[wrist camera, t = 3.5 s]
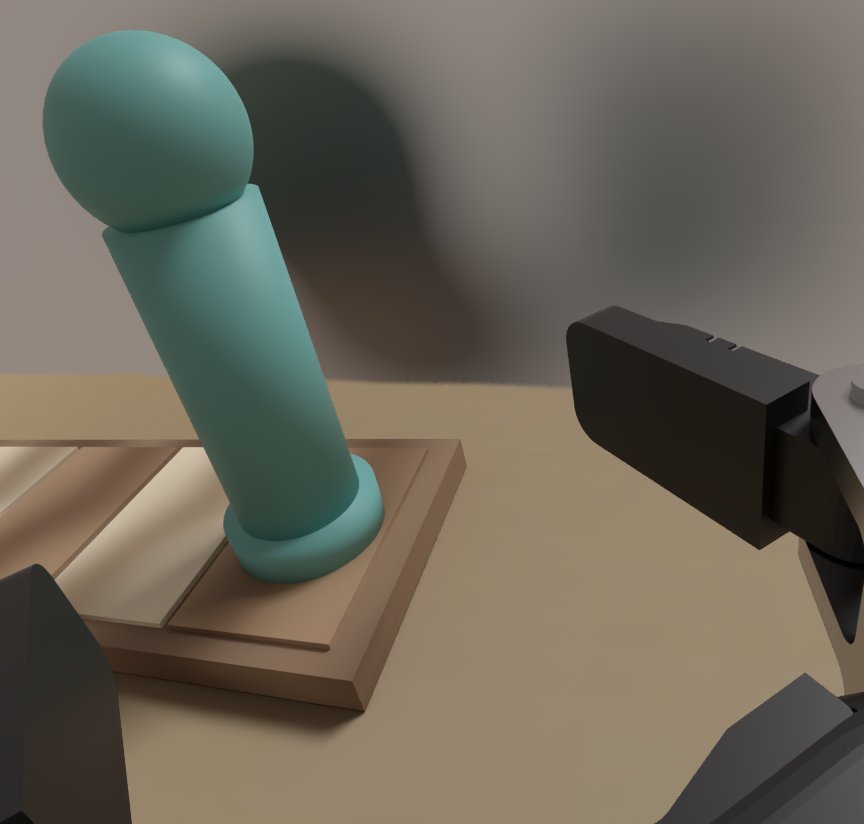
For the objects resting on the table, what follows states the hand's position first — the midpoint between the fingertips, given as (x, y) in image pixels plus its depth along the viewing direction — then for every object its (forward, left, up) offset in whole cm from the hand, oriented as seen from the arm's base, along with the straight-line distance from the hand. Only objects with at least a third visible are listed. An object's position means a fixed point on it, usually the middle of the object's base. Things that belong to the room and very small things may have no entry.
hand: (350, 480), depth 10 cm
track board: (-15, +7, -9) cm, 19 cm away
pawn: (-7, +7, -8) cm, 12 cm away
